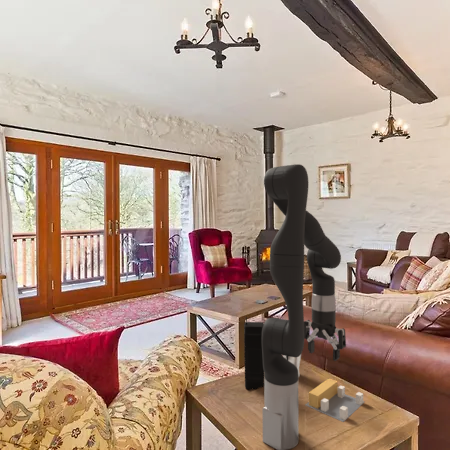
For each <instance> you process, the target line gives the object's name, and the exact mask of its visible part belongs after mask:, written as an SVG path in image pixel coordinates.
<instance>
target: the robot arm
mask: <svg viewBox="0 0 450 450" xmlns="http://www.w3.org/2000/svg"><path fill="white" fill-rule="evenodd" d="M263 186H264V187H263V188H264V189H265V192H266V194H267V196H268V197H269V198H270V200H271V201H272V202H273V203H274V204H275V205H276V207H277V208H278V209H279V210H280V212H281V213H282V214H283V215H284V219H283V222H282V224H281V226H280V228H279V230H277V233H276V234H275V236H274V238H273V240H272V241H271V245H270V248H269V272H270V276H271V278H272V280H273V282H274V284H275V286H276V287H277V289H278V291H279V292H280V294H281V296H282V298H283V300H284V303H285V306H286V310H287V316H288V319H283V318H277V317H268V318H267V319H266V320H264V325H263V328H262V355H263V369H264V387H263V389H264V390H263V391H264V393H263V394H264V395H263V396H264V398H263V400H264V406H263V407H262V442H263V443H264V444H266V445H268V446H269V447H271V448H273V449H276V450H291V449H294V448H295V447H297V445H298V444H299V377H298V369H297V367H296V366H295V365H294V364H293V363H291V362H289V361H288V360H287V359H285V358H284V357H283V355H285V356H290V357H299V356H300V355H301V356H302V353H303V350H304V348H305V347H304V346H305V340H306V341H307V349H308V350H307V351H308V352H309V354H313V353H315V339H316V338H318V339H323V340H326V341H327V342H328V343H329V344H331V346H332V347H333V349H332V360H333V361H334V362H336V361H338V360H339V359H340V357H341V353H340V352H341V350H343V349H344V348H346V347H347V340H346V339H347V338H346V329H345V328H337V327H336V317H337V315H336V314H337V313H336V308H337V305H336V302H337V301H336V290H335V289H336V284H335V283H336V280H335V277H334V276H332V275H330V274H327V273H326V272H325V271H324V269H331V270H332V269H335V268H337V267H338V266H340V264H341V262H342V257H341V256H342V255H341V252H340V250H339V248H338V246H337V245H336V244H335V243H334V242H333V241H332V240H331V239H330V237H328V236H327V235H326V234H325V231H324V230H323V228H322V226H321V224H320V222H319V221H318V219H317V218H316V217H315V216H314V215H313V214H312V213H311V212H309V211H308V210H307V206H308V205H307V204H308V195H309V175H308V171H307V169H306V167H305V166H304V165H302V164H300V163H299V164H290V165H282V166H275V167H271V168H269V169H268V170H266V172H265V174H264V177H263ZM305 248H306V249H307V253H306V261H307V263H306V264H307V265H308V269H309V274H310V277H311V281H312V284H311V285H312V287H311V288H312V289H311V290H312V291H311V292H312V293H311V321H310V319H306V320H305V318H304V317H305V315H304V273H305ZM311 328H312V330H313V331H312V332H311V331H310V329H311ZM336 335H337V336H338V337H337V336H336Z"/></svg>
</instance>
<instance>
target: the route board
mask: <svg viewBox="0 0 450 450" xmlns="http://www.w3.org/2000/svg"><path fill="white" fill-rule="evenodd" d="M364 403H365V401H364V393H363V392H360V391H357V392H356V393H355V396H351V395H348V394H346V387H345V386H344V385H339V386H338V393H337V394H336V395H334V396H333V397H332V398H331V399H329V400H328V399H325V398H323V399H322V400H321V407H319V408H318V409H317V408H315V407H313V406H310V405H309V401H308V402H307V403H305V404H304V406H306V407H308V408H310V409H313V410H315V411H317V412H319V413H322V414H324V415H326V416H328V417H330V418H333V419H335V420H337V421H340V422H342V423H344V422H345V421H346V420H348V419H349V418H350V417H351V416H352V415H353V414H354V413H355V412H356V411H357V410H358V409H359V408H360V407H361V406H362V405H363V404H364Z"/></svg>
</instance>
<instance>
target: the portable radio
mask: <svg viewBox="0 0 450 450" xmlns="http://www.w3.org/2000/svg"><path fill="white" fill-rule="evenodd" d="M247 320H248V317H246V316H245V322H244V325H243V327H244V329H243V331H244V332H243V333H244V336H243V337H244V338H243V339H244V341H243V342H244V387H245V389H246V390H257V389H259V388H264V369H263V355H262V328H263V325H264V323H265V321H264V322H263V321H258V322H257V321H247Z"/></svg>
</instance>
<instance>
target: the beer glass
mask: <svg viewBox="0 0 450 450" xmlns="http://www.w3.org/2000/svg"><path fill="white" fill-rule="evenodd" d="M282 356H283V357H284V358H285V359H287V360H288V361H289V362H291V363H293V364H294V365H295V366H296V367H297V369H298V378H300V377H301V376H300V364H301V358H302V354H301V355H300V356H299V357H290V356H285V355H282Z"/></svg>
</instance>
